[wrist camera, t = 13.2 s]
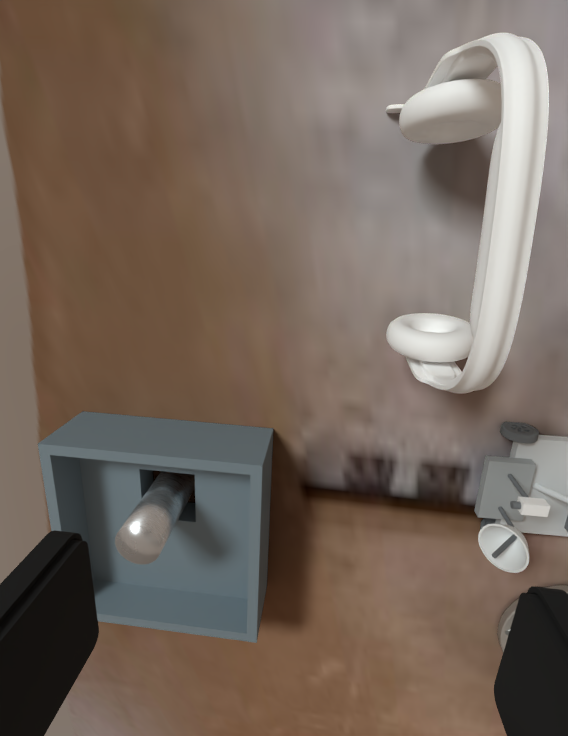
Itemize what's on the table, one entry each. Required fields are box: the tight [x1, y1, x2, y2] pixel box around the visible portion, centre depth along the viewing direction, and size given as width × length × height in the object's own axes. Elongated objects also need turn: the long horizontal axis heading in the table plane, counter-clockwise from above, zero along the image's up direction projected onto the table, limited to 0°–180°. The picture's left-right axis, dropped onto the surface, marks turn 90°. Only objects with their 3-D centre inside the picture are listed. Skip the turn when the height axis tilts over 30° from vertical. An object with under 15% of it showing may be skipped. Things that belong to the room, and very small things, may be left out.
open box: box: [38, 412, 273, 643], centre depth 42 cm, size 20×20×7 cm
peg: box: [115, 471, 195, 564], centre depth 40 cm, size 4×4×10 cm
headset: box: [386, 33, 549, 394], centre depth 26 cm, size 20×7×18 cm, turn 1°
